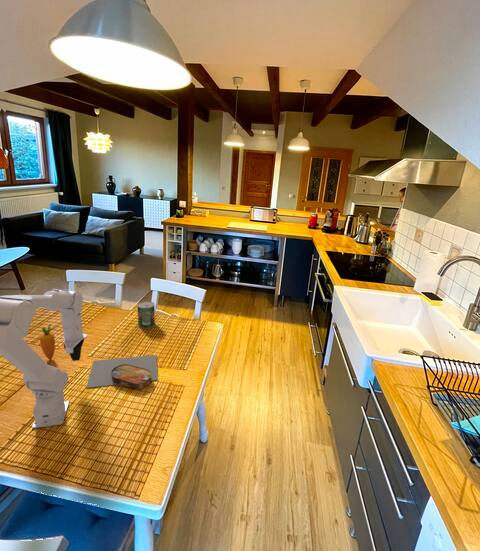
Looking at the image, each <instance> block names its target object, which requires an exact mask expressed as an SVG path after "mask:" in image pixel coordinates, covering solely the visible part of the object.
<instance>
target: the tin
mask: <svg viewBox="0 0 480 551" xmlns="http://www.w3.org/2000/svg"><path fill="white" fill-rule="evenodd" d="M111 376H112V380H113V382H115V383H117V384H121V385H122V386H125V387H128V388H132V389H137V390H138V389H144V388H146V387H147V386H148V385H149V384H150V383H151V382H152V381H151V372H150V371H149V370H147V369H143V368H140V367H136V366H132V365H129V364H123V365H119V366H117V367H115V368H114V369H113V370H112V371H111Z"/></svg>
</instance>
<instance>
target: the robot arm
mask: <svg viewBox="0 0 480 551" xmlns="http://www.w3.org/2000/svg"><path fill="white" fill-rule="evenodd" d="M83 303H84V296H83V295H82V293H80V292H79V291H75V290H69V289H67V288H66V289H59V288H52V289H51V290H48V291H46V292H45V293H43V294H38V295H37V294H11V295H10V294H9V295H7V294H6V295H0V356H1V357H2V358H4V359H5V360H7V361H8V362H9V363H10V364H11V365H12V366H14V368H16V369H17V370H18V371H20V373H22V374H23V375H22V378H21V380H22V382H24V385H25V387H26V389H27V390H30V391H31V394H34V399H35V404H34V407H33V409H32V413H33V414H32V415H33V420H34V421H33V423H32V425H31V428H32V429H39V428H45V427H46V428H47V427H53V426H58V425H59V426H60V425H62V424H63V423H64V420H65V416H66V414H67V412H68V407H69V405H70V401H69V400H66V401H65V395H64V390H65V388H66V386H67V385H68V384H67V383H68V381H69V374H68V372H67V371H66V370H62V369H60V368H58V367H55V366H53V365H49V364H48V363H47V362H46V361H45V360H44V359H43V358H42V357H41V356H40V355H39V354H38V353H37V352H36V351H35V350H34V349H33V348H32V347H31V346H30V345H29V344H28V343H27V342H26V341H25V340H24V338H26V337H27V335H28V333H29V330H30V327H31V324H32V321H33V319H34V316H35V315H36V312H37V310H36V309H38V308H44V309H45V310H47V311H57V310H58V311H60V318H61V325H62V327H61V328H62V333H63V337H62V338H63V348H64V349H65V355H66V354H68V355H69V356H70V358H71V361H72V362H75V361H77V362H78V361H80V359H81V357H82V356H81V354H82V347H83V344H84V342H85V340H86V339H87V338H88V334H86V333H84V332H83V330H84V329H83V322H82V321H83V320H82V314H81V312H82V311H83Z"/></svg>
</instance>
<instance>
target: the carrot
mask: <svg viewBox="0 0 480 551" xmlns="http://www.w3.org/2000/svg"><path fill="white" fill-rule="evenodd" d="M52 330H53V327H51V324H48V326H47V328H46V327H45V326H42V327H41V331H42V332H43V333H41V334H40V336H39V342H40V348H41V351H42V352H43V354H44V355H45V357H46V358H47V359H48V360H52V359H53V357H54V354H55V350H56V341H55V340H56V339H55V333H53V332H51V331H52Z"/></svg>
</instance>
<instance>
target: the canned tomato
mask: <svg viewBox="0 0 480 551" xmlns="http://www.w3.org/2000/svg"><path fill="white" fill-rule="evenodd" d="M136 307H137V326H138V328H140V329H144V330H145V329H152V328H153V327H154V326H156V324H155V321H156V320H155V318H156V317H155V314H156V313H155V312H156V311H155V302H153V301H151V300H149V301H148V300H144V301H140V302H138V303H137V305H136Z"/></svg>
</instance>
